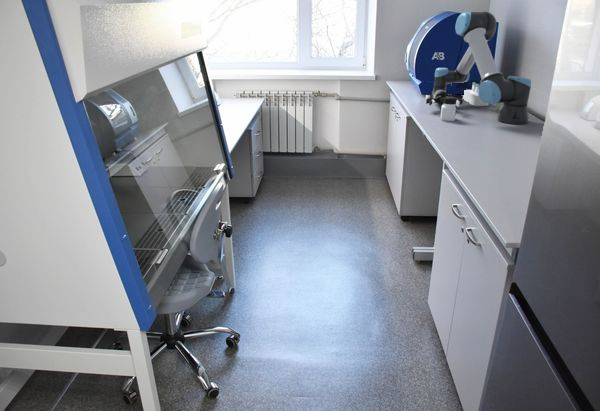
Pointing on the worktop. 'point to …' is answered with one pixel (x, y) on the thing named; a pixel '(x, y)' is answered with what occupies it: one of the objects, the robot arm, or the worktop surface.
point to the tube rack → (474, 96)
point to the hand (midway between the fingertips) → (446, 104)
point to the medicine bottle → (448, 109)
